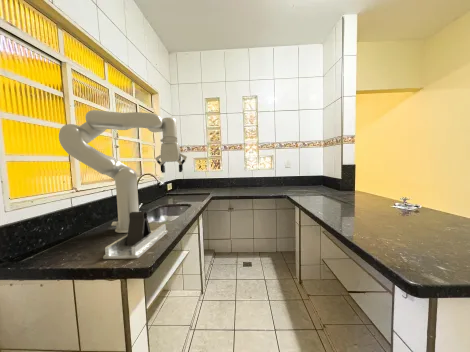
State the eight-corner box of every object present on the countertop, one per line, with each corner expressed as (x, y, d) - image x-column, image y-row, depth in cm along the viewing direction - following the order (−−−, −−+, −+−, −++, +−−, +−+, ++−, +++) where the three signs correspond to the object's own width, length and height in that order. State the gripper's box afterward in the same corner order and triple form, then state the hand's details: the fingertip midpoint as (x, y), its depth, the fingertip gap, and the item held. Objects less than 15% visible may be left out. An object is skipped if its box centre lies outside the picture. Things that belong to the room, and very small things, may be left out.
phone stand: (140, 245, 78) (139, 214, 78) (126, 245, 79) (124, 214, 78) (152, 237, 87) (150, 209, 87) (138, 237, 88) (137, 209, 87)
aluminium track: (103, 259, 69) (102, 247, 69) (143, 232, 97) (142, 224, 97) (137, 258, 69) (137, 246, 69) (167, 232, 97) (167, 223, 97)
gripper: (151, 141, 107) (153, 173, 108) (183, 139, 106) (185, 171, 107) (157, 142, 115) (159, 172, 116) (187, 141, 114) (189, 171, 115)
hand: (171, 172), depth 111 cm, fingers open, 9 cm apart
